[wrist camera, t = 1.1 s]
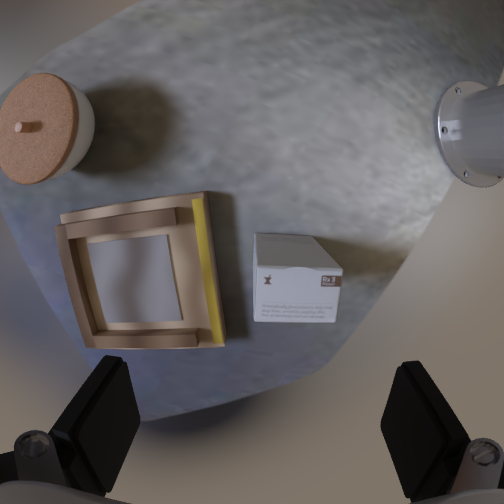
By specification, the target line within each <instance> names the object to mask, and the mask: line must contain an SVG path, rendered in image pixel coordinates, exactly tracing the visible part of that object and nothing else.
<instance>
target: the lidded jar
mask: <svg viewBox="0 0 504 504" xmlns="http://www.w3.org/2000/svg"><path fill="white" fill-rule="evenodd" d="M94 130H95V117H94V111H93V109H92V106H91V104H90V102H89V100H88V98H87V97H86V96H85V94H84V93H83V92H82V91H81V90H80V89H79V88H77V87H76V86H75V85H73V84H71V83H69V82H67V81H65V80H63V79H62V78H60V77H58V76H56V75H53V74H48V73H39V74H35V75H32V76H30V77H28V78H26V79H25V80H23V81H22V82H21V83H19V84H18V85H17V86H16V87H15V88H14V89H13V90H12V91H11V93H10V94H9V95H8V97H7V98H6V100H5V102H4V104H3V106H2V108H1V110H0V166H1V168H2V170H3V171H4V173H5V174H6V175H7V176H8V177H9V178H10V179H12V180H13V181H15V182H17V183H20V184H24V185H26V184H36V183H40V182H43V181H46V180H51V179H54V178H57V177H59V176H61V175H64V174H65V173H67V172H69V171H70V170H72V169H73V168H74V167H75V166H76V165H77V164H78V163H79V162H80V161H81V160H82V159H83V158H84V156H85V155H86V153H87V152H88V150H89V148H90V145H91V143H92V140H93V136H94Z"/></svg>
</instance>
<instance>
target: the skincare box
mask: <svg viewBox="0 0 504 504" xmlns="http://www.w3.org/2000/svg"><path fill="white" fill-rule="evenodd" d="M342 277H343V269H342V268H341V267H340V266H339V265H338V264H337V262H336V261H335V260H334V259H333V258H332V257H331V256H330V255H329V254H328V253H327V252H326V251H325V250H324V249H323V248H322V246H321V245H320V244H319V243H318V242H317V241H316V240H315V239H314V238H313V237H312V236H301V235H283V234H265V233H255V235H254V252H253V306H254V321H255V322H333V323H335V322H336V320H337V313H338V306H339V298H340V291H341V284H342Z"/></svg>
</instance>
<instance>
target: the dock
mask: <svg viewBox="0 0 504 504" xmlns="http://www.w3.org/2000/svg"><path fill="white" fill-rule="evenodd" d="M60 216H61V222H62V224H60V225H58V226H55V233H56V238H57V243H58V248H59V253H60V257H61V262H62V266H63V270H64V274H65V279H66V283H67V286H68V290H69V294H70V298H71V301H72V305H73V308H74V312H75V315H76V318H77V322H78V325H79V328H80V331H81V334H82V337H83V340H84V343H85V346H86V347H89V348H96V349H182V348H209V347H225V343H226V338H227V333H226V326H225V319H224V313H223V306H222V299H221V292H220V285H219V278H218V271H217V264H216V256H215V249H214V241H213V234H212V226H211V218H210V210H209V201H208V193H207V191H200V192H192V193H184V194H177V195H169V196H162V197H155V198H148V199H142V200H135V201H129V202H122V203H116V204H110V205H104V206H99V207H93V208H87V209H82V210H76V211H71V212H68V213H65V214H61V215H60Z"/></svg>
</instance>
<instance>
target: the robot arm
mask: <svg viewBox="0 0 504 504" xmlns="http://www.w3.org/2000/svg"><path fill="white" fill-rule="evenodd" d="M434 124H435V135H436V140H437V144H438V147H439V150H440V153H441V155H442V157H443V159H444V161H445V163H446V165H447V166H448V167H449V169H450V170H451V172H452V173H453V174H454V175H455V176H456V177H457V178H458V179H460V180H461V181H463V182H464V183H466V184H469V185H471V186H476V187H490V186H493V185H495V184H497V183H498V182H500V181H501V180H502V179H503V178H504V85H500V86H496V87H492V88H488V87H486V86H484V85H483V84H481V83H478V82H475V81H462V82H458V83H455V84H453V85H451V86H450V87H449V88H447V89H446V90H445V91H444V93H443V94H442V95H441V97H440V99H439V101H438V103H437V107H436V111H435V121H434ZM441 129H442V130H441ZM139 425H140V414H139V411H138V407H137V403H136V399H135V395H134V391H133V387H132V383H131V379H130V374H129V370H128V366H127V363H126V362H123V360H122V358H121V357H116V356H109V355H105V356H104V357H103V358H102V360H101V361H100V362H99V364H98V365H97V366H96V368H95V369H94V370H93V372H92V373H91V375H90V376H89V377H88V378H87V380H86V381H85V382H84V384H83V385H82V387H81V388H80V389H79V391H78V392H77V393H76V395H75V396H74V397H73V399H72V400H71V402H70V403H69V404H68V406H67V407H66V409H65V410H64V412H63V413H62V414H61V416H60V417H59V418H58V420H57V421H56V423H55V424H54V426H53V427H52V429H51V430H50V431H49V433H46V432H44V431H40V430H31V431H27V432H25V433H23V434H21V435H20V436H19V437H18V438H17V439H16V441H15V444H14V451H11V452H7V453H3V454H0V504H130V503H125V502H121V501H117V500H113V499H109V498H105V495H106V492H107V493H109V492H111V490H112V488H113V486H114V484H115V481H116V479H117V476H118V474H119V471H120V469H121V467H122V465H123V462H124V460H125V457H126V455H127V453H128V450H129V448H130V446H131V444H132V441H133V439H134V436H135V434H136V432H137V430H138V427H139ZM381 431H382V433H383V436H384V439H385V441H386V444H387V447H388V449H389V452H390V455H391V458H392V461H393V463H394V466H395V469H396V472H397V474H398V477H399V480H400V483H401V486H402V489H403V492H404V495H405V497H406V498H410V500H411V503H410V504H504V452H503V449H502V448H501V446H500V445H499V444H498V443H497V442H495V441H494V440H491V439H488V438H479V439H475V440H473V441H471V440H470V438H469V437H468V434H467V432H466V431H465V429H464V428H463V426H462V424H461V423H460V421H459V420H458V418H457V416H456V415H455V414H454V412H453V410H452V409H451V407H450V406H449V404H448V402H447V401H446V400H445V398H444V396H443V395H442V393H441V392H440V390H439V389H438V387H437V386H436V384H435V383H434V381H433V380H432V379H431V377H430V375H429V374H428V373H427V371H426V370H425V368H424V367H423V365H422V364H421V363H420V361H407V362H403V363H402V365H401V366H399V367H398V368H397V370H396V373H395V377H394V381H393V384H392V388H391V391H390V394H389V398H388V401H387V404H386V407H385V410H384V413H383V416H382V419H381Z"/></svg>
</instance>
